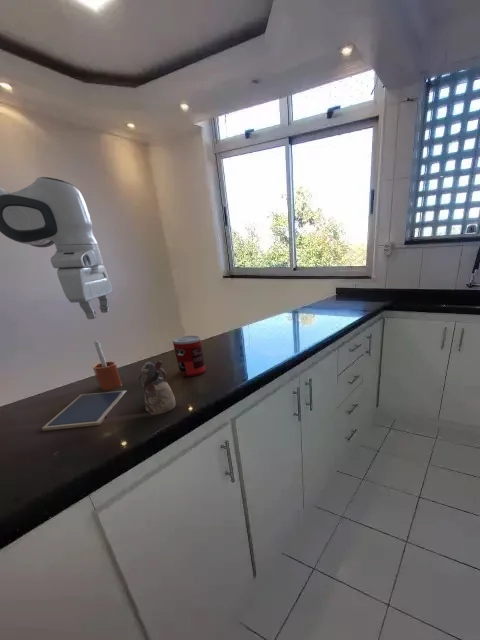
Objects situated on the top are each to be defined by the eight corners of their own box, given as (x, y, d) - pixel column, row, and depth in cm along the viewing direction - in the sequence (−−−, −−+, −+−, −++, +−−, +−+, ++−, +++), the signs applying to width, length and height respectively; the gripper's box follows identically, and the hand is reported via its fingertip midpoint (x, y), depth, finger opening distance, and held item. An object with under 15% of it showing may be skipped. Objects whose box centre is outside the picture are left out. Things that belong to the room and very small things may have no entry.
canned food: (180, 370, 101) (173, 337, 96) (205, 367, 103) (199, 334, 98) (179, 378, 95) (171, 343, 90) (206, 374, 97) (200, 340, 92)
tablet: (42, 430, 69) (41, 427, 69) (81, 396, 85) (80, 394, 85) (100, 425, 70) (98, 421, 70) (127, 392, 86) (126, 389, 86)
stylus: (108, 386, 89) (93, 341, 83) (109, 385, 90) (94, 340, 84) (112, 386, 89) (97, 341, 84) (114, 384, 90) (99, 340, 85)
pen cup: (97, 392, 87) (88, 369, 84) (105, 384, 92) (98, 362, 89) (118, 390, 88) (110, 367, 85) (125, 382, 93) (118, 360, 90)
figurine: (146, 404, 79) (134, 359, 74) (176, 399, 81) (165, 355, 76) (144, 417, 73) (130, 369, 68) (176, 411, 75) (165, 364, 70)
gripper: (84, 258, 85) (100, 309, 91) (45, 259, 67) (68, 324, 73) (109, 257, 86) (123, 308, 92) (77, 258, 68) (97, 322, 74)
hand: (99, 315), depth 82 cm, fingers open, 8 cm apart
